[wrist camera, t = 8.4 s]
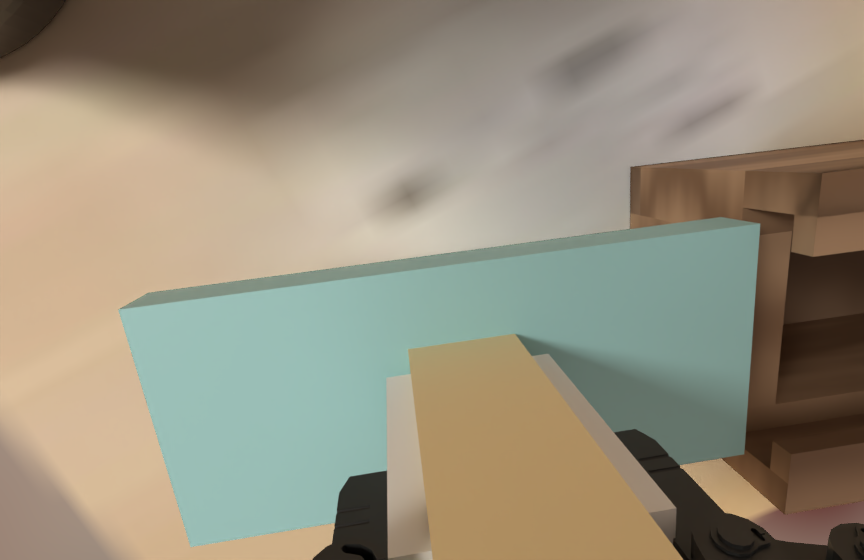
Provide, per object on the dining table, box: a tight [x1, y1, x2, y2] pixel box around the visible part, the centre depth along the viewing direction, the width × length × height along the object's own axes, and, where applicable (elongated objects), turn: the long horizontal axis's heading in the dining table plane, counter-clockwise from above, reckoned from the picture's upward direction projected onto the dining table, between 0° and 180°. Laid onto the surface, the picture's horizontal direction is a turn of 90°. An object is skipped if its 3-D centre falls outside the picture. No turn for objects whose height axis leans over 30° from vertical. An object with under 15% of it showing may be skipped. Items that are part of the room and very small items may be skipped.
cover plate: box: [119, 217, 760, 560], centre depth 12 cm, size 9×20×11 cm, turn 97°
